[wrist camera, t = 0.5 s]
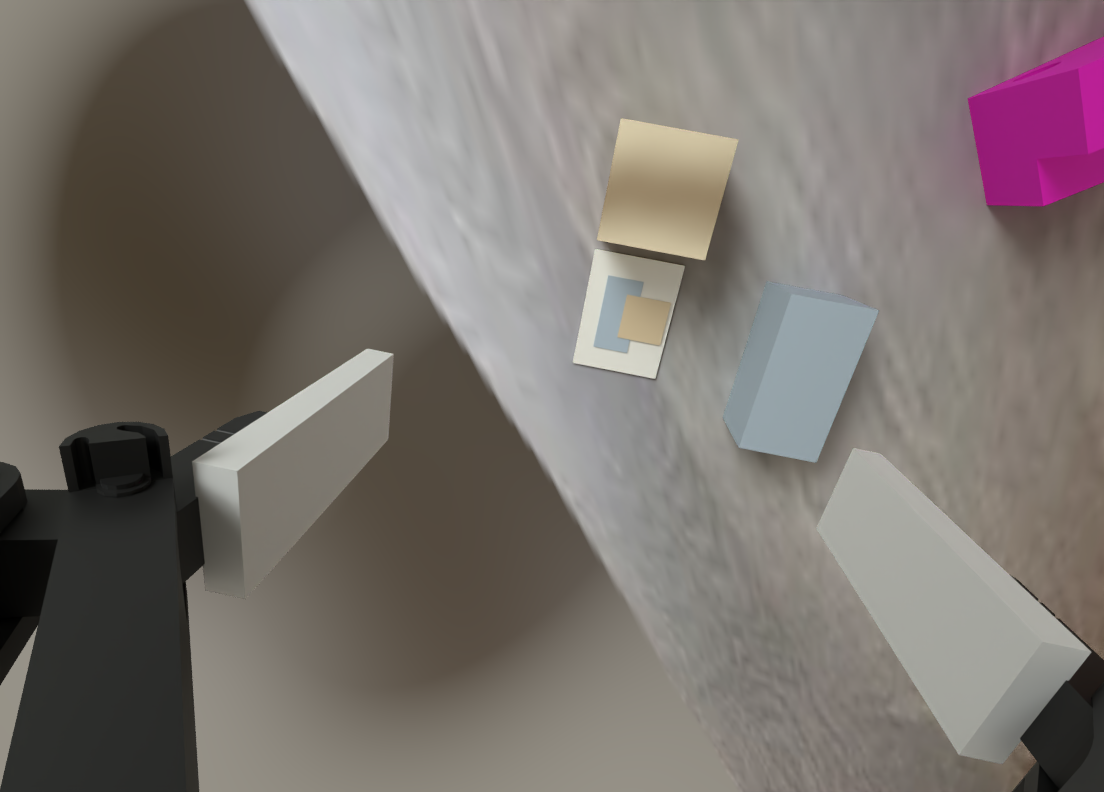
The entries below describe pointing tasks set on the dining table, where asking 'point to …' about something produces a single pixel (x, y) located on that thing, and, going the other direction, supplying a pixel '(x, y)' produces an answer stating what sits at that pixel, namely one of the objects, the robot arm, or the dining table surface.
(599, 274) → the tile
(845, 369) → the blue brick
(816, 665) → the dining table surface
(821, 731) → the dining table surface
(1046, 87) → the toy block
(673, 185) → the maple cube
